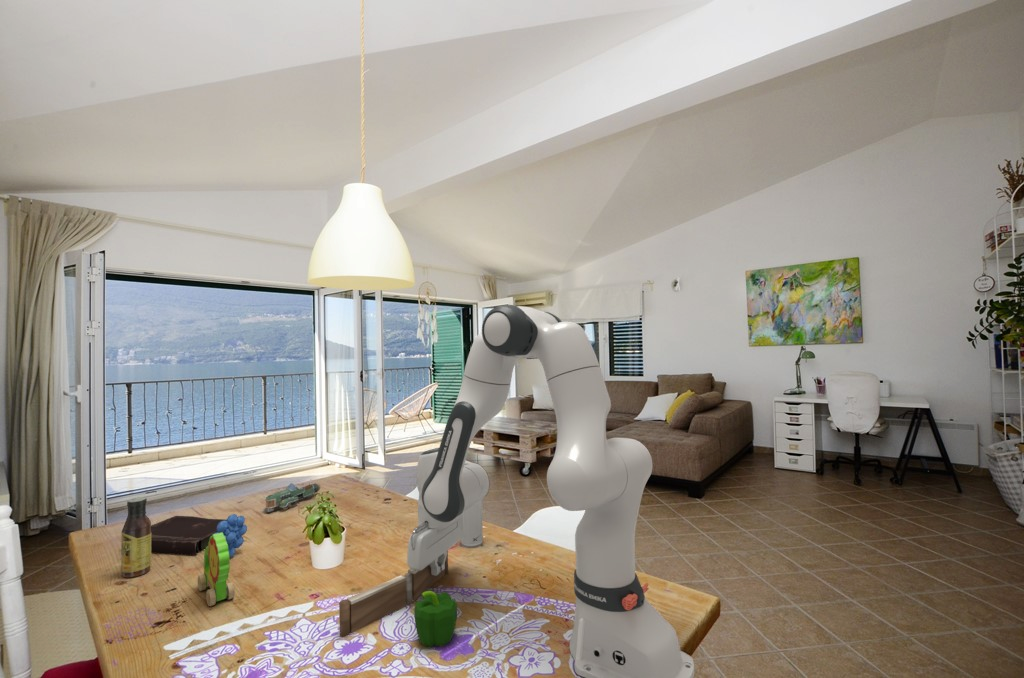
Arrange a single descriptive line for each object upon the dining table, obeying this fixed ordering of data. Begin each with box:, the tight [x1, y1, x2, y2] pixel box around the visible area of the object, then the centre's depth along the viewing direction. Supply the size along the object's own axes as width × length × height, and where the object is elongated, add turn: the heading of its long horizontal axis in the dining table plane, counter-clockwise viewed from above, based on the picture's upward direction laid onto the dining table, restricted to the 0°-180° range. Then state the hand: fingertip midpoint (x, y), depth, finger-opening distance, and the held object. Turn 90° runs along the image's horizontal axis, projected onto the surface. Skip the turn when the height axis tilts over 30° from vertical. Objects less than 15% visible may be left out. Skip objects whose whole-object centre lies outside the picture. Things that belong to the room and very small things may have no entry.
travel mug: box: [460, 499, 484, 549], centre depth 137 cm, size 6×7×20 cm
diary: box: [151, 515, 227, 557], centre depth 146 cm, size 19×25×5 cm
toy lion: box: [197, 532, 235, 607], centre depth 112 cm, size 16×5×15 cm, turn 44°
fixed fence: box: [338, 572, 413, 638], centre depth 100 cm, size 2×17×7 cm, turn 137°
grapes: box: [214, 513, 248, 559], centre depth 133 cm, size 12×7×12 cm, turn 161°
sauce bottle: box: [120, 496, 152, 579], centre depth 125 cm, size 7×6×20 cm
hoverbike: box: [263, 480, 322, 515], centre depth 180 cm, size 10×25×8 cm, turn 156°
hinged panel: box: [407, 549, 449, 601], centre depth 113 cm, size 2×15×7 cm, turn 157°
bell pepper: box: [413, 590, 458, 648], centre depth 92 cm, size 8×8×10 cm
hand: (438, 572), depth 113 cm, fingers closed, pressing on hinged panel
